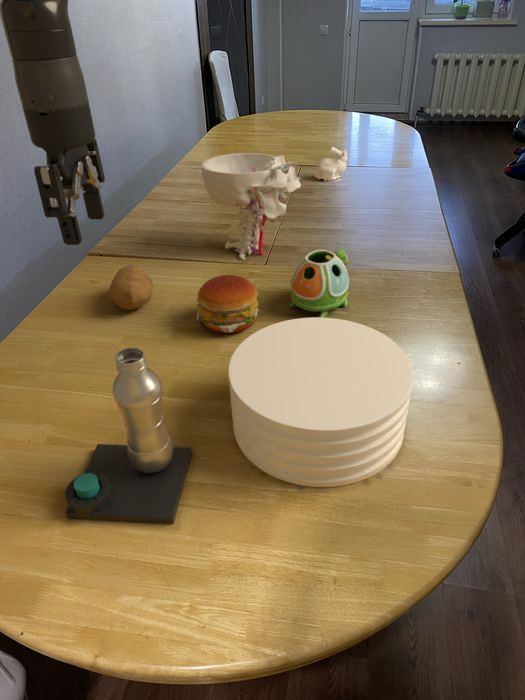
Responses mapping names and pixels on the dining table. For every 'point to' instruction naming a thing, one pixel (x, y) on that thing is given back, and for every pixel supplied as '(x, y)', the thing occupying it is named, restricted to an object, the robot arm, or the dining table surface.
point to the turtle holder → (320, 282)
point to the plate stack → (319, 400)
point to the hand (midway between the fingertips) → (85, 230)
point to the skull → (250, 192)
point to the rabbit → (332, 166)
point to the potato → (131, 288)
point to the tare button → (86, 486)
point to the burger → (227, 304)
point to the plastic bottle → (142, 412)
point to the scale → (130, 488)
